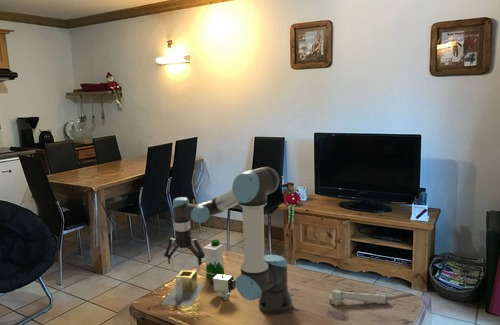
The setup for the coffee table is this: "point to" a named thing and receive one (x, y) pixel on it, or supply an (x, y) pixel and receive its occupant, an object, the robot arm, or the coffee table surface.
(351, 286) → the coffee table surface
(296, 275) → the coffee table surface
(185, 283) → the collar
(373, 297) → the beige knobbed bar
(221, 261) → the milk carton
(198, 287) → the post plate
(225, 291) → the pneumatic valve
